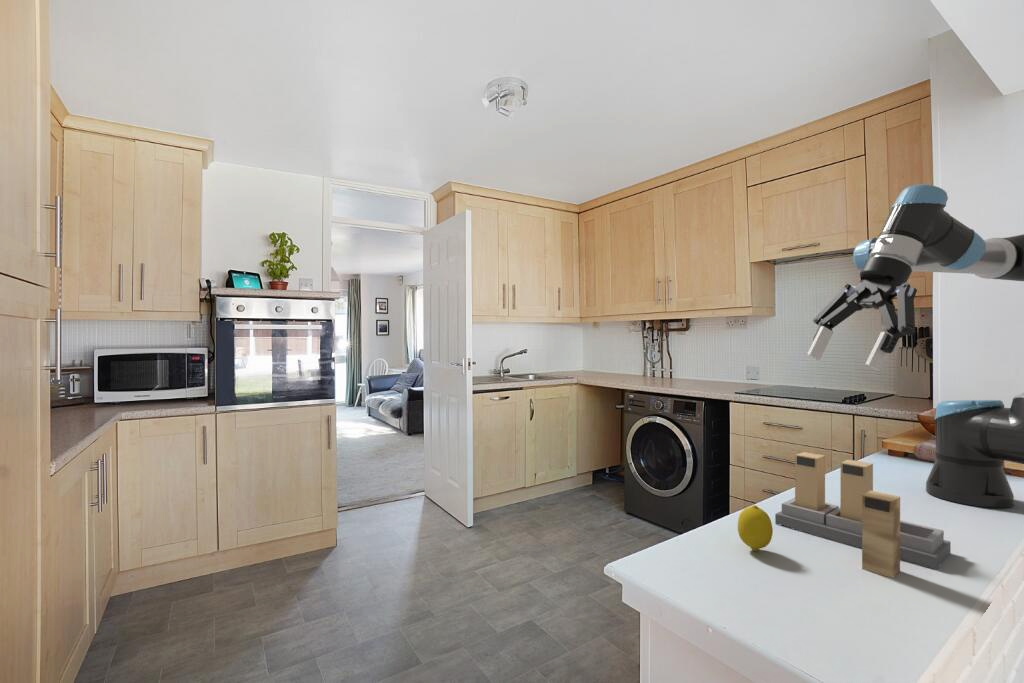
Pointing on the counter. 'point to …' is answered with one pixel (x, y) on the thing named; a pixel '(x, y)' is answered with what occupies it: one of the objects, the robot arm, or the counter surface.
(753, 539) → the lemon
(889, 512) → the oak finger
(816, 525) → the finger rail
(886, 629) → the counter surface
